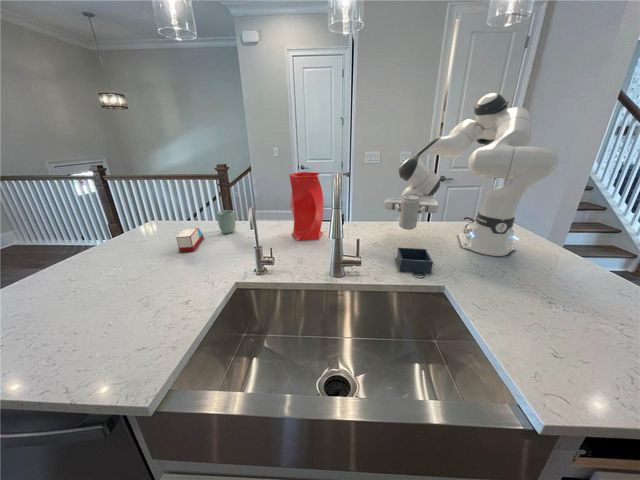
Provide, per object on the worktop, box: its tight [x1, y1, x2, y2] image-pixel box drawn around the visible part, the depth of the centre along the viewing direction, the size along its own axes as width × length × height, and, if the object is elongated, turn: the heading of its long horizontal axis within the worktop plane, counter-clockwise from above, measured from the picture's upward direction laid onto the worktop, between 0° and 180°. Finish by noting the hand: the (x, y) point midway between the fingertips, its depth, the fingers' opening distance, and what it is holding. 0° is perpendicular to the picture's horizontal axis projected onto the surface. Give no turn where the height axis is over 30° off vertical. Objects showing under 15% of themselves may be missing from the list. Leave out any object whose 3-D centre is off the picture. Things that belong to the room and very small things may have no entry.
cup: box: [216, 209, 237, 234], centre depth 125 cm, size 8×8×10 cm
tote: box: [396, 247, 434, 275], centre depth 91 cm, size 10×10×5 cm
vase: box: [288, 171, 324, 241], centre depth 115 cm, size 15×14×28 cm
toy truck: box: [176, 227, 204, 253], centre depth 111 cm, size 6×15×7 cm, turn 8°
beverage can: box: [398, 196, 420, 231], centre depth 98 cm, size 6×6×12 cm
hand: (409, 210), depth 97 cm, fingers closed on beverage can, 6 cm apart
